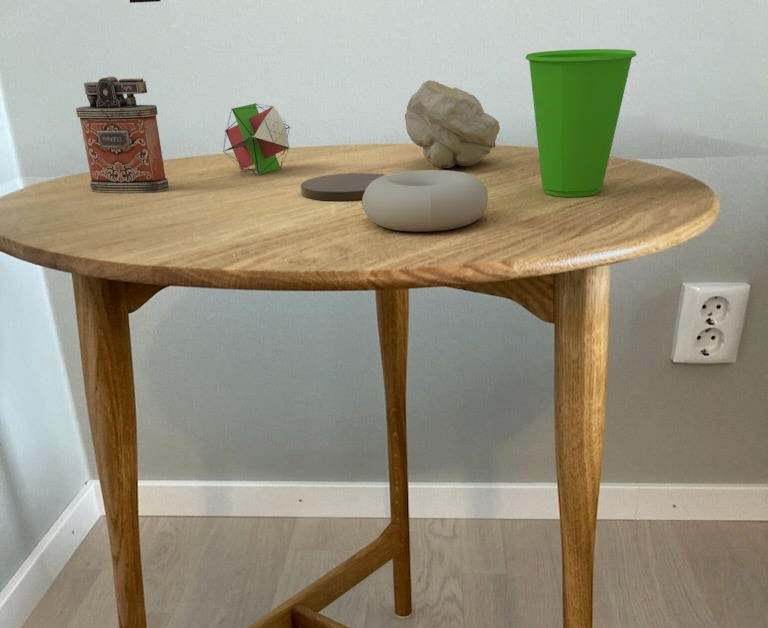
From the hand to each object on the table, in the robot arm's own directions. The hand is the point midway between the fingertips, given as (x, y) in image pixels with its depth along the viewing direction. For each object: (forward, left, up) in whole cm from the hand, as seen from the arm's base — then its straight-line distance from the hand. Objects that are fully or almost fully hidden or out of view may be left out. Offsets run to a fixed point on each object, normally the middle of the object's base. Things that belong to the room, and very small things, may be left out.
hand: (167, 1), depth 90 cm
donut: (+25, -28, -16) cm, 41 cm away
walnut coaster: (+18, -14, -16) cm, 28 cm away
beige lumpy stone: (+28, -2, -16) cm, 32 cm away
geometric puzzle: (+8, -2, -16) cm, 18 cm away
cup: (+38, -18, -16) cm, 45 cm away
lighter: (-4, -9, -16) cm, 19 cm away
